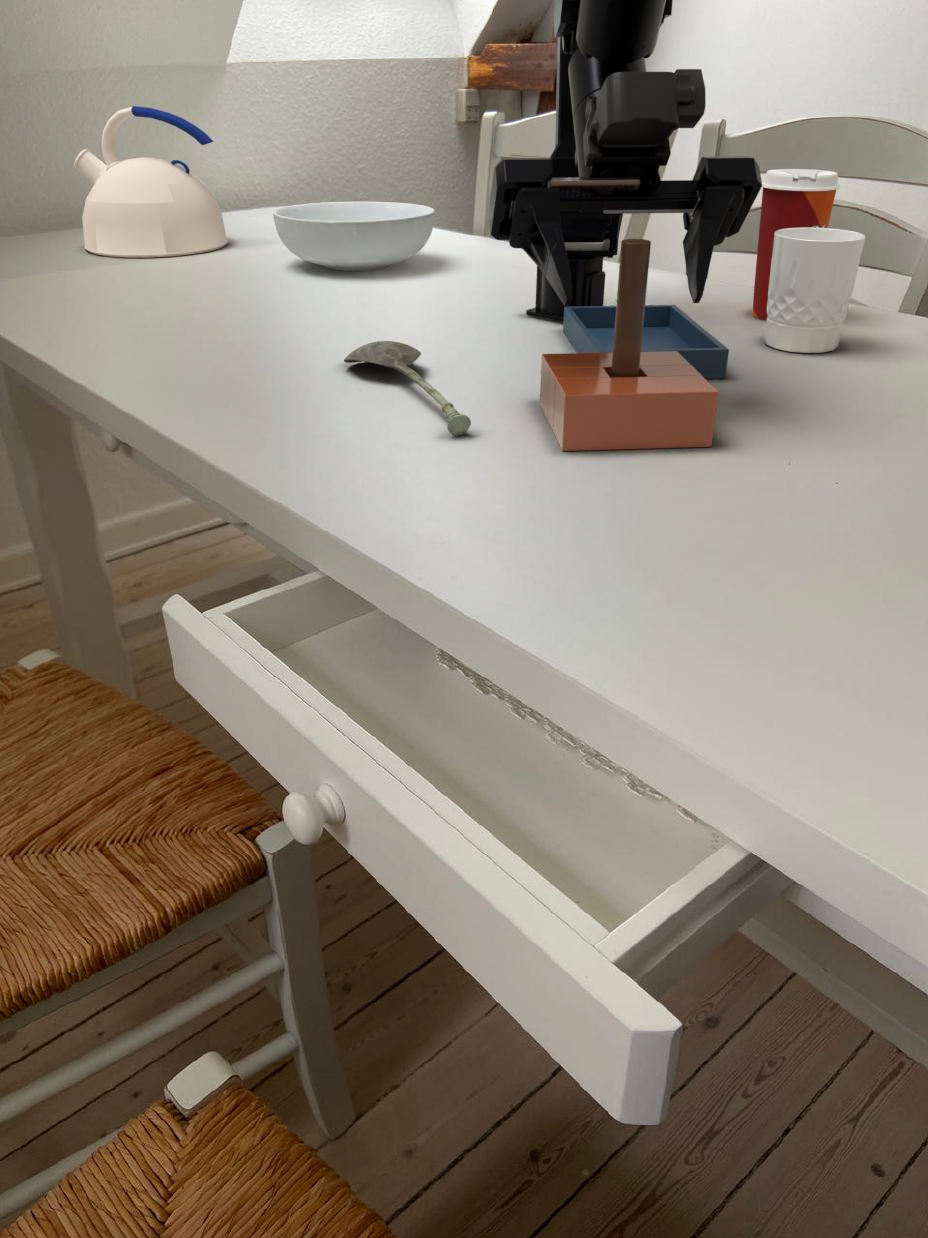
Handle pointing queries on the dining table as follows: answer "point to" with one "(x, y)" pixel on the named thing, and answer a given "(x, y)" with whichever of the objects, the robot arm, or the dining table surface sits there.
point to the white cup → (810, 287)
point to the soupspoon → (399, 359)
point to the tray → (648, 335)
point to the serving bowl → (354, 232)
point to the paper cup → (789, 216)
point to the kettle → (147, 199)
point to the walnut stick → (630, 307)
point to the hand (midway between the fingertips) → (633, 300)
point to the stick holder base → (626, 402)
